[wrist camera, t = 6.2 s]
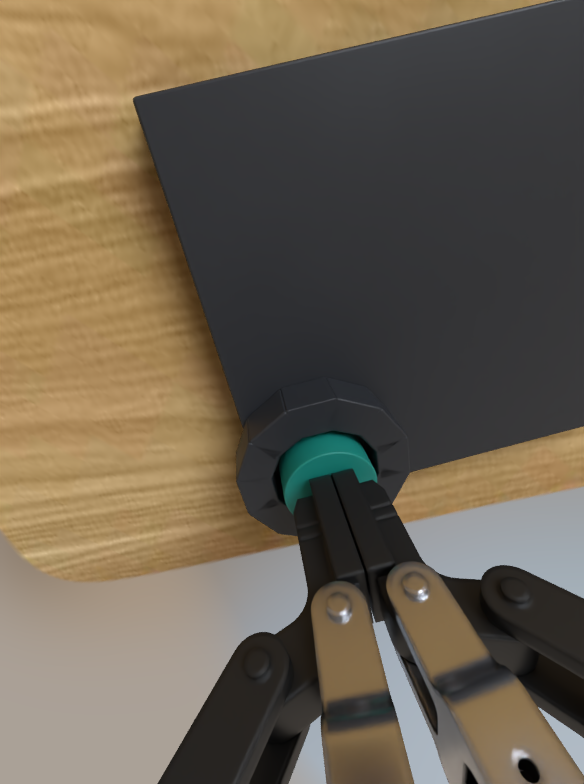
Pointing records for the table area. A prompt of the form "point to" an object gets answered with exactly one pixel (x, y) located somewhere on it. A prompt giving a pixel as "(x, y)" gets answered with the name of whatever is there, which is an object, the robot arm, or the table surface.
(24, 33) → the table surface
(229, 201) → the scale
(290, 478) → the button
